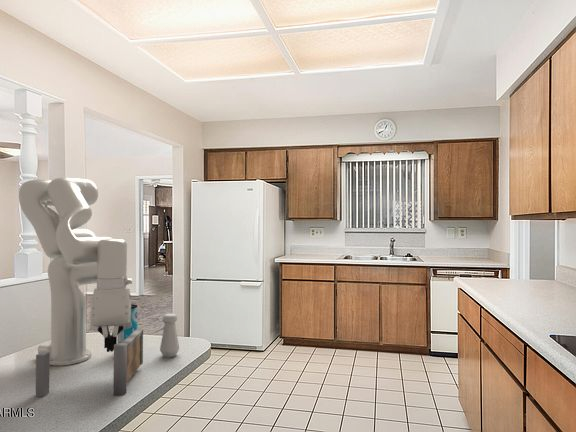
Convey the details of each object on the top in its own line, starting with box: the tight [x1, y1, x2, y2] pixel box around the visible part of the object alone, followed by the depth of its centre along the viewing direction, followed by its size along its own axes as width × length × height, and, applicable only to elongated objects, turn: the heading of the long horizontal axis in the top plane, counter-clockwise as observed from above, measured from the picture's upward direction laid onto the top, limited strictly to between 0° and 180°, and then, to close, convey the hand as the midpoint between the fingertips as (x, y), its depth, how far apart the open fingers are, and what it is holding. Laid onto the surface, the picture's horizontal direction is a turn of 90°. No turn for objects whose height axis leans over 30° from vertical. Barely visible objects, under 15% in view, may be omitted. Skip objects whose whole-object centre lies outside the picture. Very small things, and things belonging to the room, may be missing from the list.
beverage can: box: [117, 303, 138, 343], centre depth 134 cm, size 6×6×15 cm
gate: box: [122, 328, 144, 382], centre depth 113 cm, size 15×2×10 cm, turn 4°
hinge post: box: [113, 343, 128, 397], centre depth 103 cm, size 3×3×12 cm
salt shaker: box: [159, 313, 180, 359], centre depth 132 cm, size 6×6×13 cm
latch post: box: [35, 352, 50, 398], centre depth 102 cm, size 2×2×10 cm
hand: (110, 350), depth 115 cm, fingers closed
